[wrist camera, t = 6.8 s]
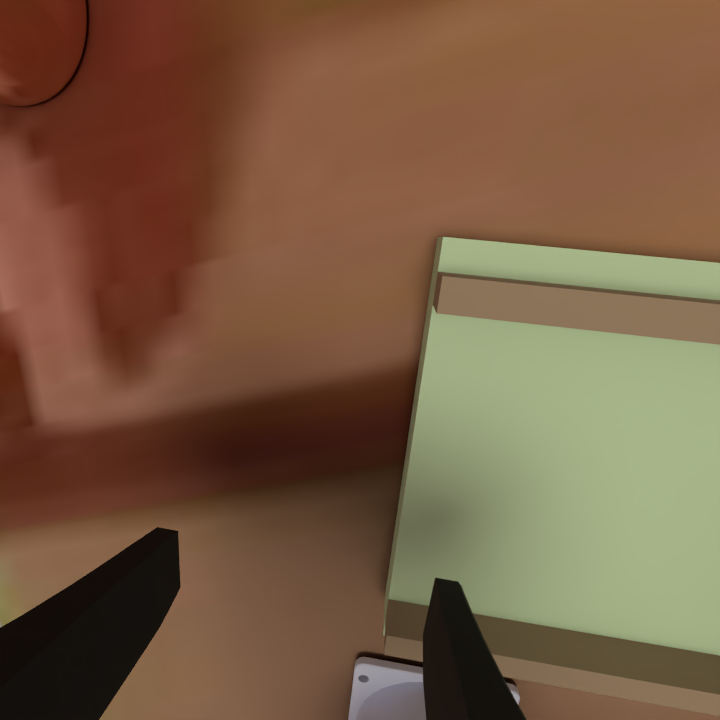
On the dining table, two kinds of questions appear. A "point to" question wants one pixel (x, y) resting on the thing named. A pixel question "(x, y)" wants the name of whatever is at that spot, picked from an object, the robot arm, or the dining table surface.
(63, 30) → the silver metal tumbler
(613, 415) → the putting board
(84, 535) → the dining table surface
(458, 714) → the robot arm
